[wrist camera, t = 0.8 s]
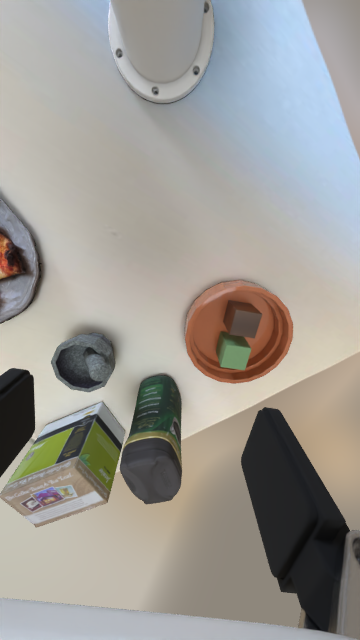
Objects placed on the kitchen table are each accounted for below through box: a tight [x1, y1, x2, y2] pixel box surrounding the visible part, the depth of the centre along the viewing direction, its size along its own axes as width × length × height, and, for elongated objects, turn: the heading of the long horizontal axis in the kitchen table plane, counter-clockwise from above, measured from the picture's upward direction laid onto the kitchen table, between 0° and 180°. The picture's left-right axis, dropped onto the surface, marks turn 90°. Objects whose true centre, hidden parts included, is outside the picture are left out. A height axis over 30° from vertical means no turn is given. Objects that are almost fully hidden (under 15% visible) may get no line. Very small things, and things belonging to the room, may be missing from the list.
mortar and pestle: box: [51, 333, 115, 392], centre depth 37 cm, size 11×9×12 cm
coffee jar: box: [120, 376, 182, 504], centre depth 38 cm, size 10×8×19 cm
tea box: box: [0, 402, 125, 527], centre depth 43 cm, size 15×10×15 cm, turn 116°
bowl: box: [185, 280, 293, 383], centre depth 39 cm, size 17×17×5 cm
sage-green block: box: [216, 331, 251, 370], centre depth 39 cm, size 4×4×6 cm
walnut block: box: [223, 300, 262, 338], centre depth 37 cm, size 4×4×6 cm
